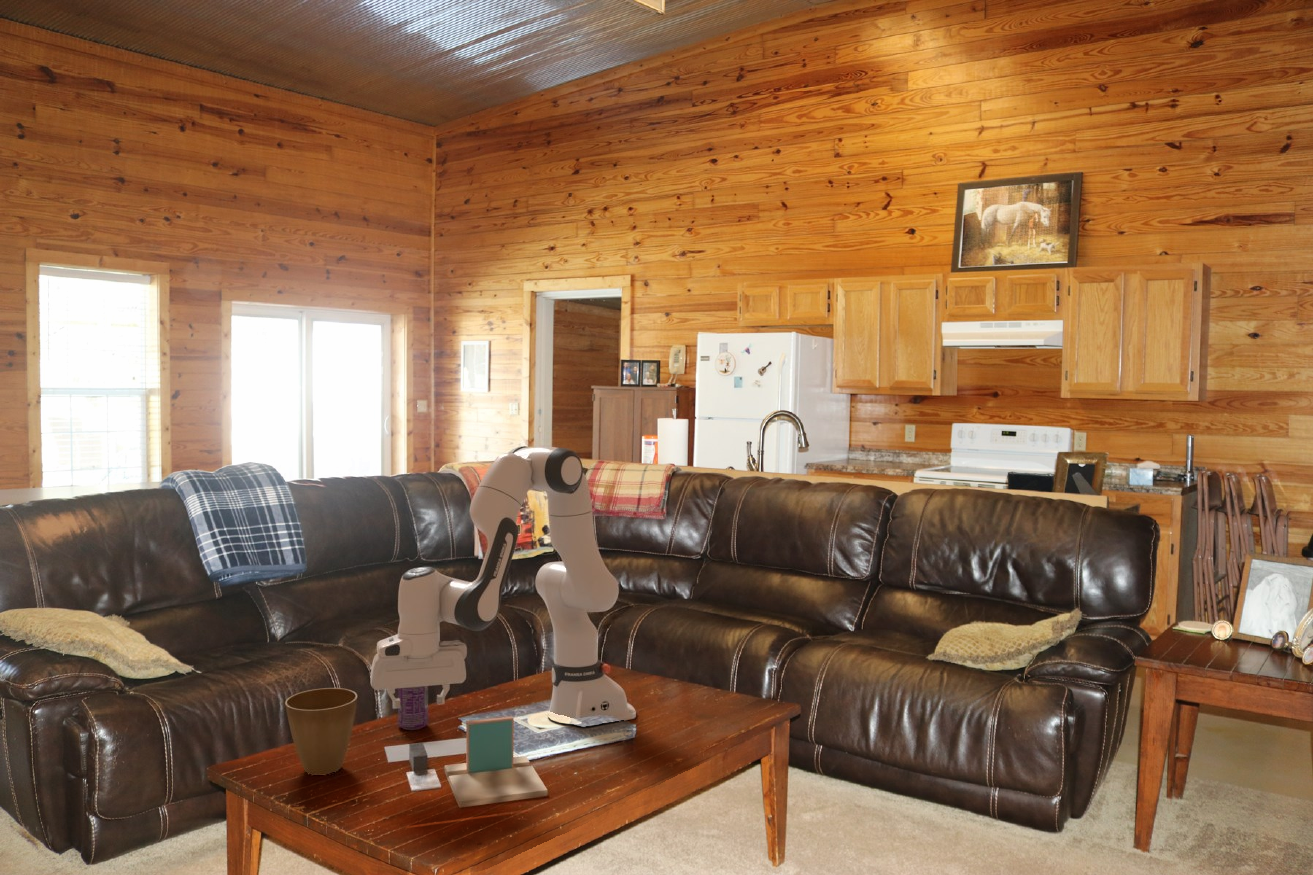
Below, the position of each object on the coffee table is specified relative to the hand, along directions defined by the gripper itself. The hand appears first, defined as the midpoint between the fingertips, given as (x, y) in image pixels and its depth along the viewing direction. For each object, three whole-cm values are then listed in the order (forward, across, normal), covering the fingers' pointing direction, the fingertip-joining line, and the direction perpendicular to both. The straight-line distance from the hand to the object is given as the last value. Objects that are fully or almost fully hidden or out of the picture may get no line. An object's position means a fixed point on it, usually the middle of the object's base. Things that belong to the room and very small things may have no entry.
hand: (418, 705), depth 221 cm
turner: (+14, 0, +3) cm, 15 cm away
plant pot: (+15, +20, -7) cm, 26 cm away
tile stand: (+14, -14, +13) cm, 24 cm away
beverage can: (+14, -2, -29) cm, 33 cm away
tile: (+14, -14, +8) cm, 21 cm away
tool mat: (+14, -5, -11) cm, 19 cm away
